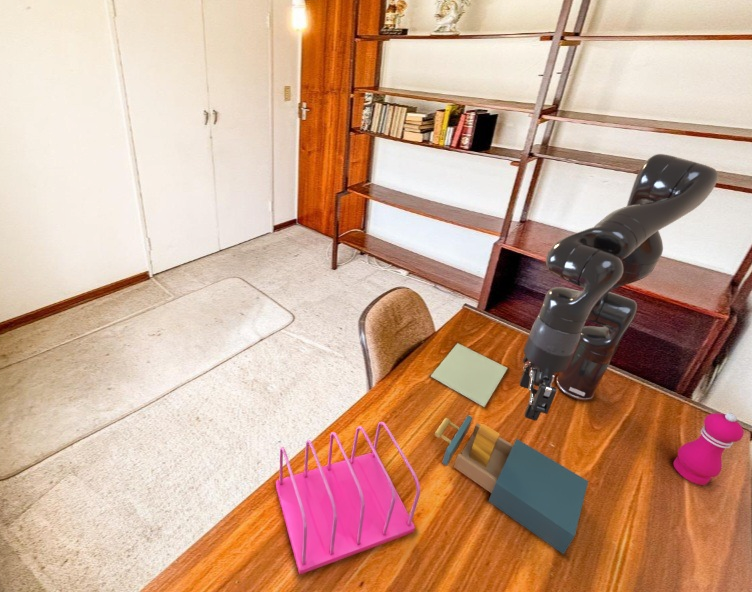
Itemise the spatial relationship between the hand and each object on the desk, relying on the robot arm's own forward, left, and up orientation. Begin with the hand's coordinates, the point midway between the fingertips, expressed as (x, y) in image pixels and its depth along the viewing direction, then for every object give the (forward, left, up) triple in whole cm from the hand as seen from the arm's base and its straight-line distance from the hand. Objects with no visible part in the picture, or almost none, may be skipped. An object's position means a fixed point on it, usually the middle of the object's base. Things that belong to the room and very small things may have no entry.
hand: (527, 401), depth 81 cm
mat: (-28, -17, -25) cm, 41 cm away
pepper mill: (-34, +34, -25) cm, 54 cm away
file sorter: (+31, -22, -25) cm, 45 cm away
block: (0, -4, -23) cm, 23 cm away
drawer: (0, -6, -24) cm, 25 cm away
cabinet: (0, +8, -25) cm, 26 cm away
